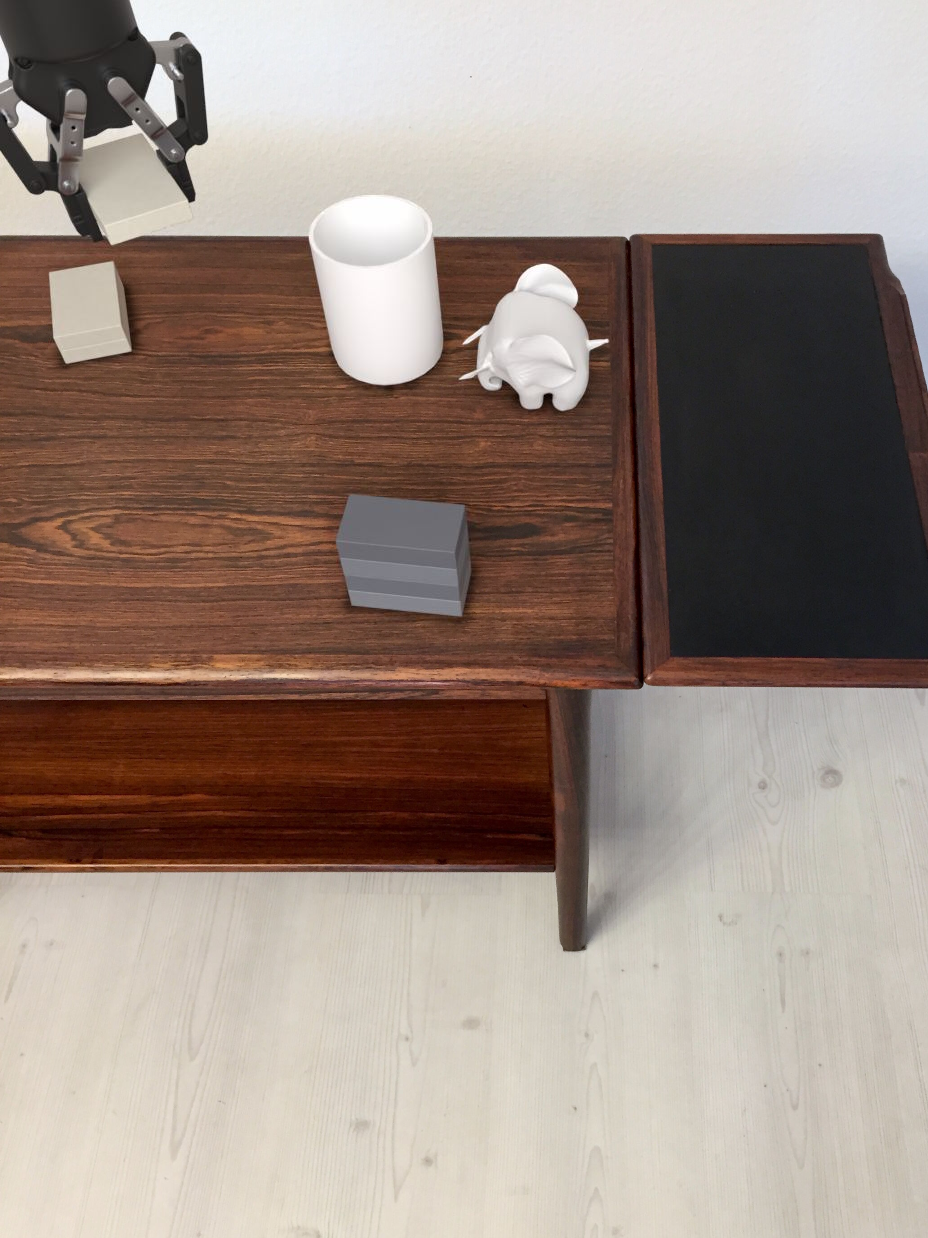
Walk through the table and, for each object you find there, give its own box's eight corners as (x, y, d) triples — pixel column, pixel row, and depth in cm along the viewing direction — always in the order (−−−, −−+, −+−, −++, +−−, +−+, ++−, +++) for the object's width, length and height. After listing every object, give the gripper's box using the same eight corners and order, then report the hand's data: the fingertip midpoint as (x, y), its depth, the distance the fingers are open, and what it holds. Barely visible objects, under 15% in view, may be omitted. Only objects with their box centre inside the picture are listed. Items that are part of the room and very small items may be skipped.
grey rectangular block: (351, 605, 76) (334, 540, 70) (364, 560, 78) (349, 493, 72) (462, 617, 75) (454, 552, 69) (471, 570, 77) (465, 504, 71)
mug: (327, 389, 88) (301, 269, 78) (343, 297, 95) (320, 175, 85) (441, 389, 88) (428, 269, 78) (448, 297, 95) (437, 175, 85)
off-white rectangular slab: (69, 174, 72) (61, 155, 70) (148, 151, 73) (141, 131, 72) (111, 245, 67) (104, 226, 66) (194, 219, 69) (188, 199, 68)
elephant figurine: (466, 346, 91) (459, 257, 84) (605, 349, 91) (611, 260, 83) (457, 425, 86) (449, 337, 78) (605, 429, 85) (611, 340, 78)
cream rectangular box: (132, 351, 90) (121, 325, 88) (65, 364, 90) (53, 337, 87) (124, 287, 95) (113, 260, 93) (60, 298, 94) (48, 271, 92)
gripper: (144, -110, 62) (219, 163, 76) (-112, -52, 57) (17, 225, 72) (189, -59, 58) (259, 217, 72) (-81, 6, 54) (49, 286, 68)
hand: (138, 220), depth 72 cm, fingers closed on off-white rectangular slab, 5 cm apart
